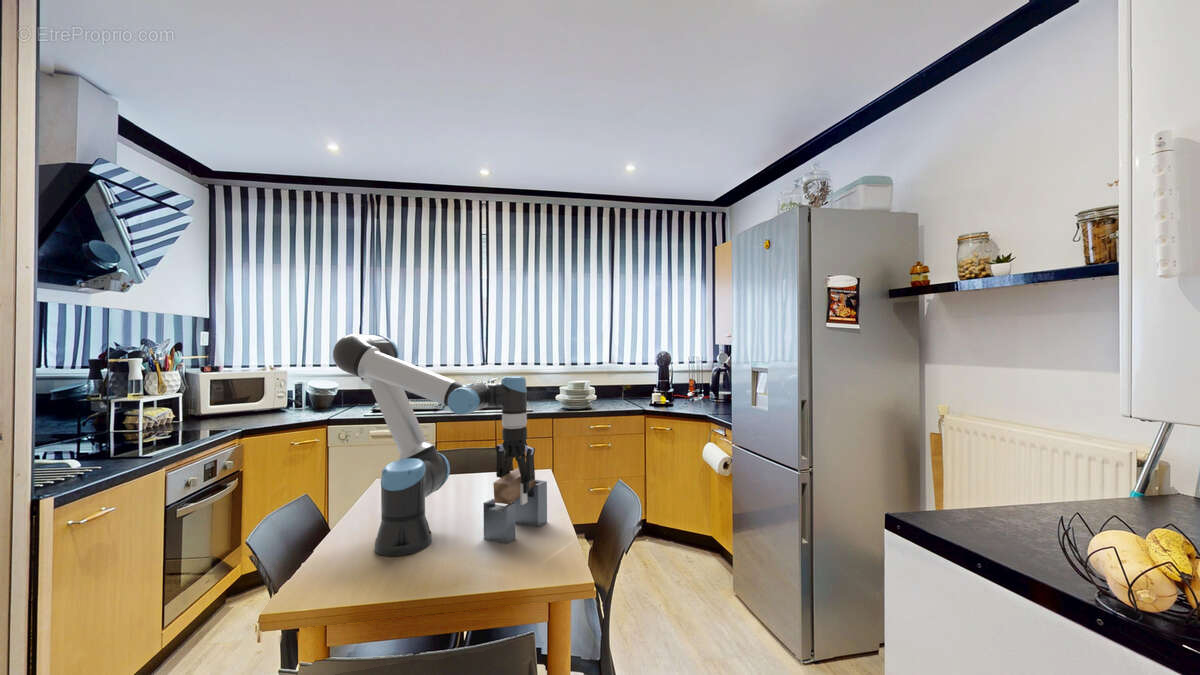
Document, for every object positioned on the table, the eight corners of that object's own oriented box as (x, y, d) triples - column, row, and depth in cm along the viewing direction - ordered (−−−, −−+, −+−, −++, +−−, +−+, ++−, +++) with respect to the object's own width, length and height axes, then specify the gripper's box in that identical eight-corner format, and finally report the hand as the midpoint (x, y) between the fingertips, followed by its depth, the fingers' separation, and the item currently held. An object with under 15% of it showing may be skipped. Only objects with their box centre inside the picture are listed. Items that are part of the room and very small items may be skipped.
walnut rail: (494, 502, 143) (493, 482, 143) (521, 483, 158) (520, 465, 158) (509, 504, 141) (508, 484, 141) (535, 485, 156) (534, 466, 156)
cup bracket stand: (481, 538, 143) (481, 493, 143) (521, 517, 160) (521, 477, 160) (508, 544, 138) (508, 498, 139) (547, 522, 156) (546, 481, 156)
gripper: (546, 426, 149) (547, 502, 148) (498, 422, 157) (499, 494, 157) (532, 430, 142) (533, 510, 142) (483, 426, 151) (484, 501, 150)
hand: (515, 502), depth 149 cm, fingers closed on walnut rail, 5 cm apart
